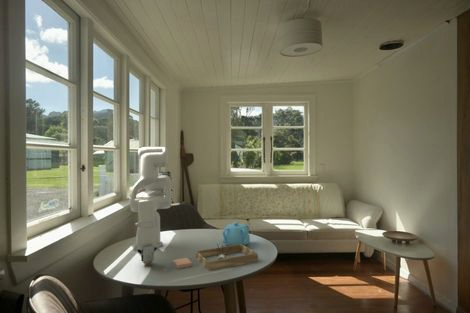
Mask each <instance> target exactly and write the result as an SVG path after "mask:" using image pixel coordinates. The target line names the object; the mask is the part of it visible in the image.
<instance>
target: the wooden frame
mask: <svg viewBox="0 0 470 313" xmlns="http://www.w3.org/2000/svg"><path fill="white" fill-rule="evenodd" d="M218 247H219V248H218ZM218 247H215V248H208V249H202V250H197V251H195V253H194V255H195V259H196V260H197V261H198V262H199V264H201V265H202V266H203V267H204V268H205V269H206V270H207V271H210V270H215V269H222V268H225V267H235V266H242V265H245V264H251V263H257V262H259V256H258V254H259V253H258V252H256V251H254V250H253V249H251V248H249V247H248V246H247V245H246V246H244V245H242V244H237V245H231V246H228V245H226V246H223V254H224V255H225V256H226V255H230V254H234V253H235V252H236V253H242V254H243V255H238V256H233V257H228V258H227V257H226V259H221V260H217V259H216V260H212V261H209V260H208V259H206V257H207V258H208V257H212V256H217V257H218V256H219V255H220V253H221V254H222V246H218ZM219 250H220V251H219ZM240 251H241V252H240Z"/></svg>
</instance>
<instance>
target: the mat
mask: <svg viewBox="0 0 470 313" xmlns="http://www.w3.org/2000/svg"><path fill="white" fill-rule="evenodd" d="M188 259H189V260H190V261H191V262H192V266H189V267H184V268H178V269H177V267H176V266H175V265H174V264H173V261H169V262H163V263H160V266H162V268H163V269H164V271H165V272H166V273H167V272H173V271H179V270H184V269H189V268H195V267H199V266H200V264H199V263H197V262H196V261H195V259H194V258H192V257H191V258H188Z"/></svg>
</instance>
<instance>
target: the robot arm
mask: <svg viewBox="0 0 470 313" xmlns="http://www.w3.org/2000/svg"><path fill="white" fill-rule="evenodd" d="M137 155H138V158H139V160H140V174H139V179H138V181H136V182H135V183H134V185H133V186H132V189H131V190H130V197H129V198H130V200H129V207H130V210H131V212H133V213H138V216H137V217H138V220H137V221H138V222H135V226H136V227H137V228H136V229H137V230H136V236H135V245H134V246H133V248H132V250H133V251H134V252H137V253H139V254H140V256H141V257H140V258H141V262H142V263H143V264H144V263H145V262H143V247H149V246H154V253H155V252H156V251H157V250H158V249H159V248H161V247H163V245H164V242H163V241H161V216H160V213H159V212H158V211H157V210H163V209H169V208H171V206H172V203H173V202H172V199H173V198H172V180H171V178H170V176H169V175H166V174H165V175H162V174H161V175H160V174H159V168H166V167H167V166H168V163H169V149H168V148H167V147H165V146H143V147H140V148H138V151H137ZM143 188H144V190H145V191H147V192H151V193H146V194H144V195H143V196H142V197H137V195H138V193H139V191H140V190H142V189H143ZM153 192H154V193H153ZM155 192H156V193H155ZM157 192H158V193H157ZM152 262H153V261H151V263H152Z"/></svg>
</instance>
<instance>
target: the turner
mask: <svg viewBox="0 0 470 313" xmlns="http://www.w3.org/2000/svg"><path fill="white" fill-rule="evenodd" d="M151 261H152V262H154V261H155V252H154V246H149V247H143V261H142V263H143V262H145V263H143V264H144V265H143V266H144V267H145V268H146V267H147V268H148V267H151V266H152V262H151Z"/></svg>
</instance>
